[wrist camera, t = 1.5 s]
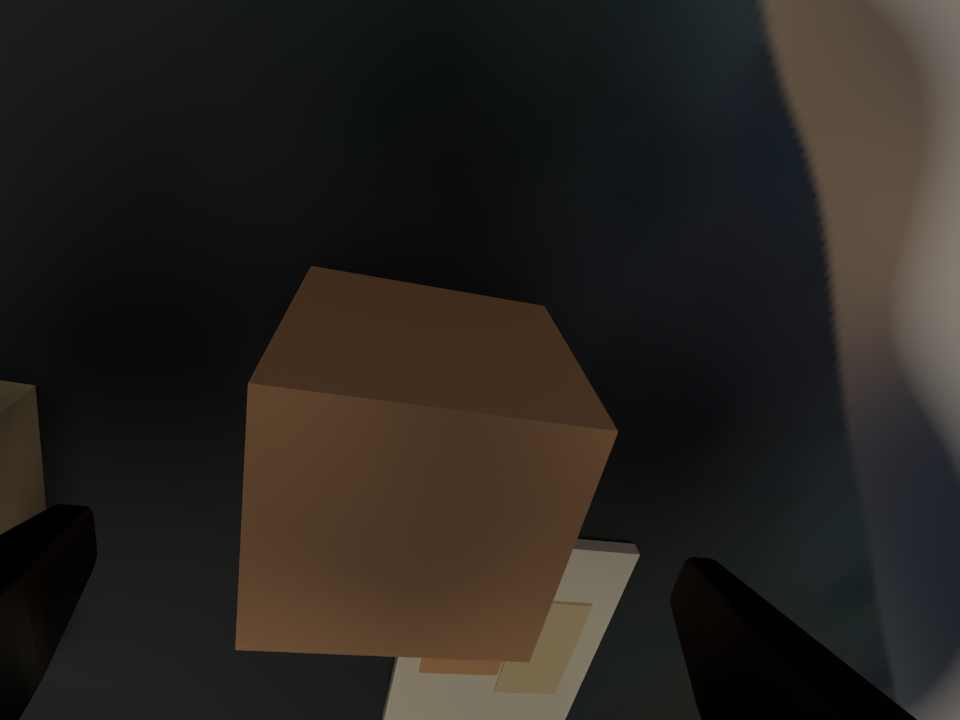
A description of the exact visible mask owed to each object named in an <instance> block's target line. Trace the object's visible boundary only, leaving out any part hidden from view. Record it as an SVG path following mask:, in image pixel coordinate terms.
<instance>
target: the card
mask: <svg viewBox="0 0 960 720" xmlns="http://www.w3.org/2000/svg"><path fill="white" fill-rule="evenodd" d="M639 556H640V554H639V552H638V549H637V547H636V545H635V544H630V543H619V542H607V541H596V540H585V539H577V540H576V543H575V545H574V548H573V550H572V553H571V556H570V558H569V561H568V563H567V566H566V569H565V571H564V574H563V576H562V579H561V582H560V584H559V587H558V589H557V592H556V595H555V597H554V600H553V602H552V605H551V608H550V610H549V613H548V615H547V618H546V621H545V623H544V626H543V628H542V631H541V634H540V636H539V639H538V641H537V644H536V647H535V649H534V652H533V654H532V657H531V660H530V662H508V661H484V660H460V659H437V658H413V657H396V658H395V662H394V666H393V671H392V675H391V679H390V684H389V688H388V693H387V697H386V701H385V706H384V710H383V717H382V720H565V719H566V716H567V714H568V712H569V710H570V708H571V705H572V703H573V701H574V699H575V697H576V694H577V692H578V690H579V688H580V686H581V683H582V681H583V679H584V677H585V675H586V672H587V670H588V668H589V666H590V664H591V661H592V659H593V657H594V655H595V653H596V650H597V648H598V646H599V644H600V641H601V639H602V637H603V635H604V633H605V630H606V628H607V626H608V624H609V622H610V619H611V617H612V615H613V613H614V611H615V608H616V606H617V604H618V602H619V600H620V597H621V595H622V593H623V591H624V589H625V586H626V584H627V582H628V580H629V578H630V575H631V573H632V571H633V569H634V567H635V564H636V562H637V560H638V558H639Z"/></svg>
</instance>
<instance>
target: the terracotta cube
mask: <svg viewBox="0 0 960 720" xmlns="http://www.w3.org/2000/svg"><path fill="white" fill-rule="evenodd" d="M617 433H618V430H617V428H616V427H615V425H614V423H613V422H612V420H611V418H610V416H609V415H608V413H607V411H606V410H605V408H604V406H603V405H602V403H601V401H600V399H599V398H598V396H597V394H596V393H595V391H594V389H593V388H592V386H591V384H590V382H589V381H588V379H587V377H586V376H585V374H584V372H583V371H582V369H581V367H580V365H579V364H578V362H577V360H576V359H575V357H574V355H573V354H572V352H571V350H570V348H569V347H568V345H567V343H566V342H565V340H564V338H563V337H562V335H561V333H560V331H559V330H558V328H557V326H556V325H555V323H554V321H553V320H552V318H551V316H550V314H549V313H548V311H547V309H546V308H545V306H541V305H536V304H530V303H524V302H518V301H512V300H507V299H501V298H495V297H489V296H483V295H477V294H472V293H466V292H460V291H454V290H448V289H443V288H437V287H431V286H425V285H419V284H414V283H408V282H402V281H396V280H390V279H385V278H379V277H373V276H367V275H361V274H356V273H350V272H344V271H338V270H332V269H327V268H321V267H315V266H311V267H310V269H309V271H308V272H307V274H306V276H305V278H304V280H303V282H302V284H301V285H300V287H299V289H298V291H297V293H296V295H295V297H294V298H293V300H292V302H291V304H290V306H289V308H288V310H287V312H286V313H285V315H284V317H283V319H282V321H281V323H280V325H279V326H278V328H277V330H276V332H275V334H274V336H273V338H272V339H271V341H270V343H269V345H268V347H267V349H266V351H265V352H264V354H263V356H262V358H261V360H260V362H259V364H258V365H257V367H256V369H255V371H254V373H253V375H252V377H251V378H250V380H249V382H248V394H247V415H246V436H245V457H244V478H243V499H242V520H241V542H240V563H239V584H238V605H237V626H236V647H235V650H248V651H272V652H296V653H319V654H343V655H366V656H390V657H413V658H437V659H460V660H484V661H508V662H530V660H531V657H532V654H533V652H534V649H535V647H536V644H537V641H538V639H539V636H540V634H541V631H542V628H543V626H544V623H545V621H546V618H547V615H548V613H549V610H550V608H551V605H552V602H553V600H554V597H555V595H556V592H557V589H558V587H559V584H560V582H561V579H562V576H563V574H564V571H565V569H566V566H567V563H568V561H569V558H570V556H571V553H572V550H573V548H574V545H575V543H576V540H577V537H578V535H579V532H580V530H581V527H582V524H583V522H584V519H585V517H586V514H587V511H588V509H589V506H590V504H591V501H592V498H593V496H594V493H595V491H596V488H597V485H598V483H599V480H600V478H601V475H602V472H603V470H604V467H605V465H606V462H607V459H608V457H609V454H610V452H611V449H612V446H613V444H614V441H615V439H616V436H617Z"/></svg>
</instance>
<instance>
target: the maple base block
mask: <svg viewBox="0 0 960 720" xmlns="http://www.w3.org/2000/svg"><path fill="white" fill-rule="evenodd" d="M44 510H46V500H45V489H44V477H43V466H42V455H41V444H40V432H39V421H38V410H37V399H36V387H35V385H29V384H22V383H15V382H9V381H2V380H0V534H2V533H4V532H6V531H7V530H9V529H11V528H13V527H15V526H16V525H18V524H20V523H22V522H24V521H26V520H27V519H29V518H31V517H33V516H35V515H37V514H38V513H40V512H42V511H44Z"/></svg>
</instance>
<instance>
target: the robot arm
mask: <svg viewBox="0 0 960 720" xmlns="http://www.w3.org/2000/svg"><path fill="white" fill-rule="evenodd" d="M96 557H97V545H96V535H95V525H94V516H93V512H92V510H91V509H90V508H88V507H86V506H76V505H64V504H59V505H54V506H52V507H49V508H47V509H46V510H44V511H42V512H40V513H38V514H37V515H35V516H33V517H31V518H29V519H27V520H26V521H24V522H22V523H20V524H18V525H16V526H15V527H13V528H11V529H9V530H7V531H6V532H4V533H2V534H0V720H19V719H20V717H21V715H22V714H23V712H24V710H25V709H26V707H27V705H28V703H29V702H30V700H31V698H32V696H33V695H34V693H35V691H36V689H37V687H38V686H39V684H40V682H41V680H42V678H43V676H44V674H45V672H46V670H47V668H48V666H49V664H50V662H51V659H52V657H53V655H54V653H55V651H56V649H57V646H58V644H59V642H60V640H61V638H62V636H63V633H64V631H65V629H66V627H67V625H68V623H69V620H70V618H71V616H72V614H73V612H74V610H75V607H76V605H77V603H78V601H79V599H80V597H81V594H82V592H83V590H84V588H85V586H86V583H87V581H88V579H89V577H90V575H91V573H92V570H93V568H94V565H95V562H96ZM669 602H670V609H671V613H672V616H673V620H674V624H675V628H676V632H677V636H678V639H679V643H680V647H681V651H682V655H683V658H684V662H685V666H686V670H687V674H688V678H689V681H690V685H691V689H692V692H693V695H694V699H695V702H696V705H697V708H698V711H699V714H700V717H701V720H917V719H915V718H914V717H913V716H912V715H910V714H909V713H908V712H907V711H905V710H904V709H903V708H902V707H900V706H899V705H898V704H897V703H895V702H894V701H893V700H891V699H890V698H889V697H888V696H886V695H885V694H884V693H883V692H881V691H880V690H879V689H878V688H876V687H875V686H874V685H872V684H871V683H870V682H869V681H867V680H866V679H865V678H864V677H862V676H861V675H860V674H859V673H857V672H856V671H855V670H853V669H852V668H851V667H850V666H848V665H847V664H846V663H845V662H843V661H842V660H841V659H840V658H838V657H837V656H836V655H834V654H833V653H832V652H831V651H829V650H828V649H827V648H826V647H824V646H823V645H822V644H821V643H819V642H818V641H817V640H815V639H814V638H813V637H812V636H810V635H809V634H808V633H807V632H805V631H804V630H803V629H802V628H800V627H799V626H798V625H796V624H795V623H794V622H793V621H791V620H790V619H789V618H788V617H786V616H785V615H784V614H783V613H781V612H780V611H779V610H777V609H776V608H775V607H774V606H772V605H771V604H770V603H769V602H767V601H766V600H765V599H764V598H762V597H761V596H760V595H759V594H757V593H756V592H755V591H753V590H752V589H751V588H750V587H748V586H747V585H746V584H745V583H743V582H742V581H741V580H740V579H738V578H737V577H736V576H734V575H733V574H732V573H731V572H729V571H728V570H727V569H726V568H724V567H723V566H722V565H721V564H719V563H718V562H717V561H715V560H713V559H709V558H698V557H691V558H689V559H688V560H686V561H685V563H684V565H683V567H682V569H681V571H680V573H679V575H678V577H677V579H676V581H675V583H674V585H673V587H672V589H671V591H670V597H669Z"/></svg>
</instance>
